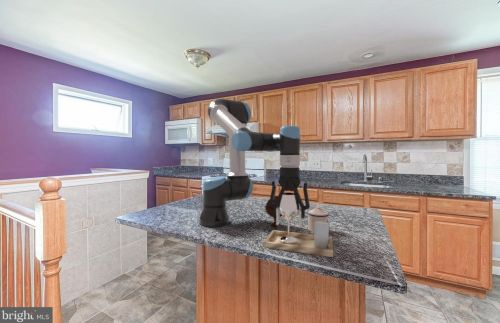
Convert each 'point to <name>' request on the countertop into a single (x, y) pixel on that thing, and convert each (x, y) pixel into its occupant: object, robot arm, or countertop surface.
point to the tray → (297, 243)
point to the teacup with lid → (316, 217)
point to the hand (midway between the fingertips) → (288, 225)
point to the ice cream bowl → (272, 212)
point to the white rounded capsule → (321, 234)
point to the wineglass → (288, 212)
